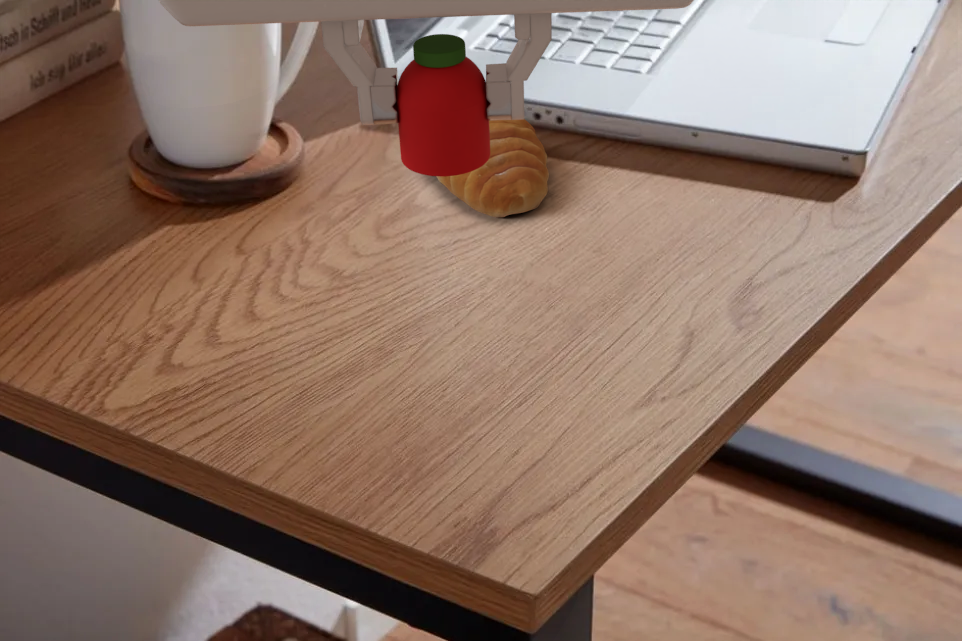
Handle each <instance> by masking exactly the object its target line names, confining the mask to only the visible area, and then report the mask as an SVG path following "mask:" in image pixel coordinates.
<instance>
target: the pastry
mask: <svg viewBox="0 0 962 641" xmlns="http://www.w3.org/2000/svg"><path fill="white" fill-rule="evenodd" d="M489 130H490V157H489V160H488V161H487V162H486V163H485V164H484V165H483V166H481V167H480V168H478V169H476V170H474V171H471V172H468V173H465V174H461V175H455V176H435V178H436V179H437V181H438V182H439V183H440V184H442V185H444V187H445V188H447V190H448V191H449V192H450V194H452V195H454V196H455V197H456V198H458V199H459V200H461V201H462V202H463V203H465V204H466V205H467V206H469V207H470V208H471V209H473V210H475V211H476V212H479V213H481V214H484V215H487V216H489V217H491V218H505V217H507V216H509V215H517V214H521V213H526V212H529V211H532V210H535V209H537V208H538V207H539V206H540V205H541V203H542V201H543V200H544V199H545V197H546V196H547V194H548V191H549V190H548V189H549V188H548V181H549V177H550V174H549V173H550V171H549V169H548V168H547V163H548V154H547V153H546V150H545V146H544V145H543V143H542V142H541V140H540V139H539V138H538V136H537V134H536V129H535V128H534V127H533V125H532V124H530V122H528V121H527V120H526V119H525V118H524V120H494V121H489Z"/></svg>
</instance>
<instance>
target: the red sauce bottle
mask: <svg viewBox="0 0 962 641" xmlns="http://www.w3.org/2000/svg"><path fill="white" fill-rule="evenodd" d="M412 50H413V51H412V52H413V59H412V60H411V61H410V62H409V63H408V64H407V65H406V66H405V68H404V69H403V71H402V73H400V76H399V78H398V85H397V98H396V102H397V108H398V121H399V123H397V125H398V137H399V138H398V140H399V152H400V161H401V163H402V164H403V166H405V168H406V169H408V170H410V171H412V172H414V173H416V174H420V175H422V176H428V177H429V176H430V177H436V176H455V175H461V174H465V173H468V172H471V171H474V170H476V169H478V168H480V167H481V166H483V165H484V164H485V163H486V162H487V161H488V160H489V157H490V130H489V121H488V120H487V103H488V100H487V98H486V77H485V76H484V74H483V72H482V71H481V69H480V68H479V66H478V65H477V64H476V63H475V62H474V61H473V60H472V59H470V58H469V57H468V56H467V53H466V42H465V40H464V38H462V37H460V36H458V35H454V34H449V33H435V34H429V35H425V36H422V37H419V38H418V39H416V40H415V41H414V42H413V45H412Z"/></svg>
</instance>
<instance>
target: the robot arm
mask: <svg viewBox="0 0 962 641" xmlns="http://www.w3.org/2000/svg"><path fill="white" fill-rule="evenodd" d="M157 1H158V3H159V4H160V5H161V6H162V7H163V8H164V9H165V10H166V11H167V12H168V13H169V15H171V16H172V17H173V18H174V19H175V20H176V21H177V22H178V23H179V24H181V25H182V26H185V27H209V26H211V27H212V26H236V25H238V26H239V25H240V26H241V25H265V24H266V25H267V24H290V23H291V24H293V23H294V24H295V23H318V22H319V23H320V27H321V28H320V29H321V36H322V46H323V49H324V50H325V51H326V53H327V54H328V55H329V56H330V58H331V59H332V61H333V62H334V63H335V65H336V66H337V67H338V69H339V70H340V71H341V73H343V75H344V76H345V77H346V79H347V80H348V81H349V83H350V84H351V85H352V87H356V90H357V100H358V109H359V120H360V124H361V126H375V125H393V124H394V125H395V124H398V123H399V121H398V108H397V102H396V98H397V85H398V82H399V73H398V67H378V66H377V65H376V63H375V61H374V60H373V59H372V57H371V56H370V55H369V53H368V51H367V50H366V49H365V47H364V46H363V44H362V43H361V39H362V38H361V37H362V34H363V30H364V29H363V28H364V24H365V21H373V20H376V21H378V20H401V19H402V20H404V19H405V20H406V19H429V18H430V19H431V18H433V19H434V18H451V17H452V18H454V17H455V18H457V17H459V18H460V17H481V16H482V17H483V16H485V17H487V16H508V15H509V16H511V15H512V16H513V19H514V22H513V23H514V38H515V39H516V40H517V41H516V44H515V46H514V47H513V49H512V51H511V53H510V54H509V56H508V58H507V60H506V62H505V63H504V62H503V63H489V64H488V63H487V64H485V81H486V98H487V100H488V103H487V120H488V121H494V120H524V119H525V82H526V81H528V80H529V78H530V76H531V75H532V73H533V71H535V68H536V66H537V65H538V63H539V62H540V60H541V58H542V57H543V55H544V53H545V52H546V50H547V48H548V46H549V45H550V44H551V42H552V40H553V38H552V36H553V30H552V27H553V24H552V23H553V22H552V20H553V19H552V16H553V14H564V13H568V14H569V13H593V12H618V11H619V12H620V11H621V12H622V11H643V10H644V11H645V10H647V11H648V10H650V11H651V10H672V9H673V10H676V9H685V8H687V7H689V6H691V5H692V3H693V2H694V1H695V0H157Z"/></svg>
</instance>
